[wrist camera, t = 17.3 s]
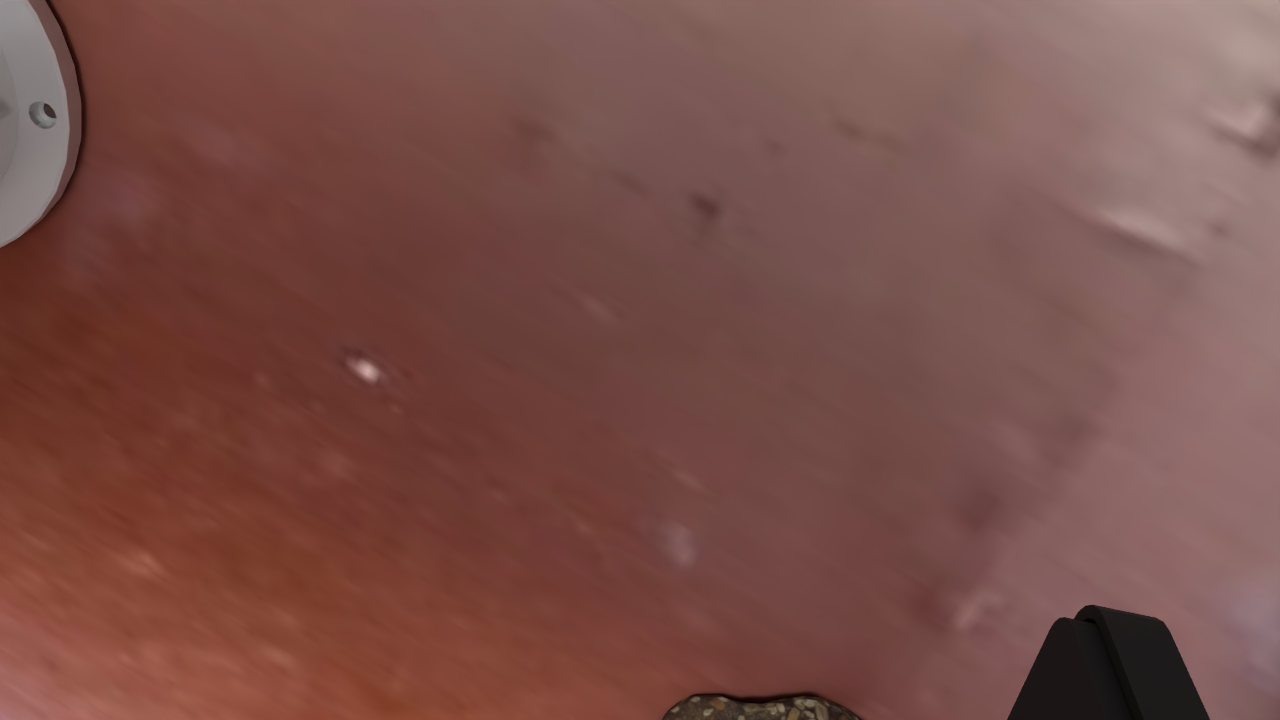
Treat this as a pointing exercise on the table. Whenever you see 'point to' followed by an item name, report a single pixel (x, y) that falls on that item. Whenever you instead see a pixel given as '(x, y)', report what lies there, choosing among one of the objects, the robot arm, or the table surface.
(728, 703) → the rock
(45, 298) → the table surface
